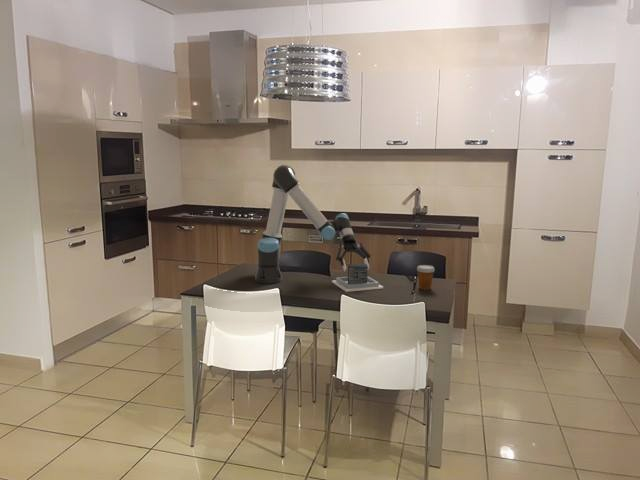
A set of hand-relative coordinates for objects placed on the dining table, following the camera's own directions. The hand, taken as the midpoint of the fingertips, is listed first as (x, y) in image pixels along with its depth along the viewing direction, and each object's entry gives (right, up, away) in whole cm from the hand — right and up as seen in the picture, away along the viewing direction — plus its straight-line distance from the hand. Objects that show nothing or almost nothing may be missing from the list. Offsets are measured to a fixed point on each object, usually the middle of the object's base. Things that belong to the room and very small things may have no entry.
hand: (356, 269), depth 280 cm
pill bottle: (+37, -10, -3) cm, 38 cm away
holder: (0, -9, 0) cm, 9 cm away
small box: (0, -8, 0) cm, 8 cm away
